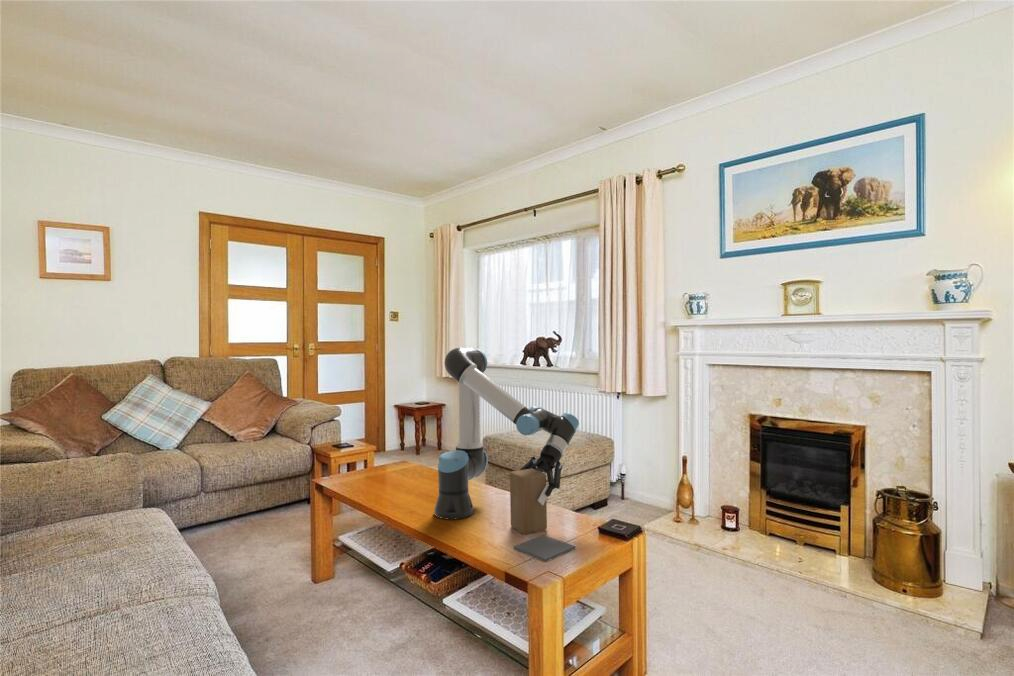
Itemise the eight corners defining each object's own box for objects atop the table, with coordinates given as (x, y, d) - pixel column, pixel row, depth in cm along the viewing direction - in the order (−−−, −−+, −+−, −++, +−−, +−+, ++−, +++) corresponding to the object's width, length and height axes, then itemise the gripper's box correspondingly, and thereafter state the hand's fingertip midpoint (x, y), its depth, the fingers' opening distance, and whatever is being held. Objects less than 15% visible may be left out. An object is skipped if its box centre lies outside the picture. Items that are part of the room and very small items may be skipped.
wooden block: (509, 526, 183) (508, 471, 184) (533, 522, 188) (532, 467, 188) (523, 535, 174) (522, 477, 175) (548, 530, 179) (547, 473, 179)
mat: (513, 548, 163) (513, 546, 163) (543, 537, 173) (543, 534, 173) (545, 561, 153) (545, 559, 153) (575, 548, 162) (575, 546, 162)
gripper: (584, 461, 183) (557, 512, 173) (534, 451, 201) (507, 497, 191) (575, 448, 180) (547, 500, 169) (524, 440, 198) (496, 486, 187)
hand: (526, 499), depth 180 cm, fingers open, 13 cm apart
